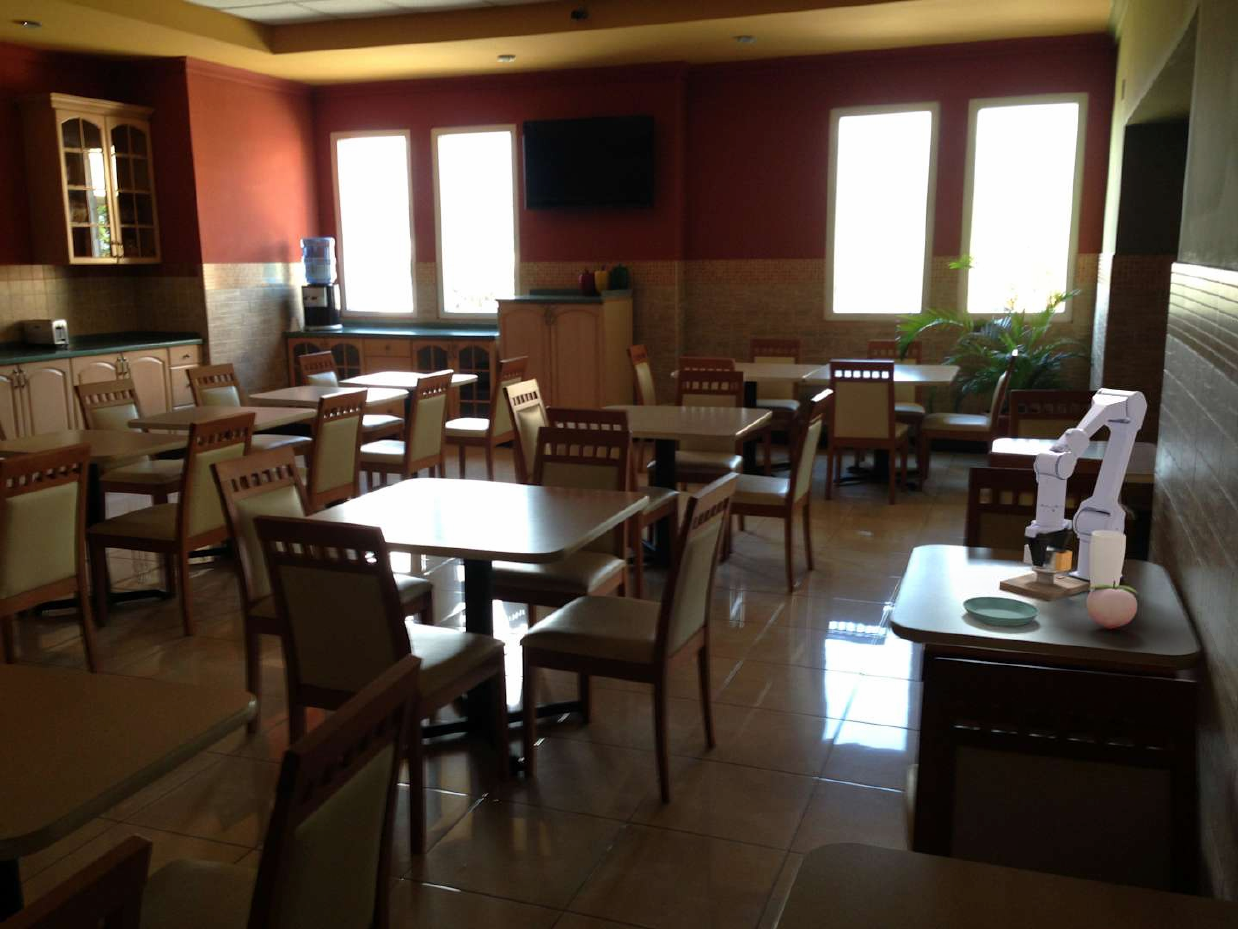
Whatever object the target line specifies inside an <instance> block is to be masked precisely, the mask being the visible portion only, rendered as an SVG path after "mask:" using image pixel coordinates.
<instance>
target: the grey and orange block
mask: <svg viewBox="0 0 1238 929" xmlns="http://www.w3.org/2000/svg"><path fill="white" fill-rule="evenodd" d="M1023 552H1024V553H1023V563H1025V564H1029V565H1031V571H1032V572H1033V573H1035V572H1037V573H1041V574H1057V575H1060V574H1061V573H1062V572H1065V571H1069V570H1071V569H1072V559H1073V558H1072V556H1073V551H1071V550H1067V549H1064V550H1062V549H1058V548H1054V547H1049V545H1048V547H1047V550H1046V554H1045V560H1044V564H1043V567H1038V566H1034V565H1033V563H1032V558H1031V553H1030V549H1029V546H1028V544H1025V545H1024V551H1023Z"/></svg>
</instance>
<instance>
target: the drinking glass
mask: <svg viewBox="0 0 1238 929" xmlns="http://www.w3.org/2000/svg"><path fill="white" fill-rule="evenodd" d="M1126 540H1127V536H1126V534H1125V533H1123V534H1122V533H1119V532H1114V531H1104V530H1100V531H1094V532H1092V536H1091V545H1090V580H1089V583H1090V587H1092V586H1094V585H1097V584H1106V585H1109V586H1112V587H1113V583H1114V581H1115V586H1120V580H1121V577H1120V576H1121V575H1122V571H1123V570H1122V569H1123V566H1124V559H1125V554H1126V544H1127V543H1126V542H1127V541H1126ZM1092 590H1093V589H1091V590H1089V593H1090V592H1091V591H1092Z"/></svg>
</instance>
